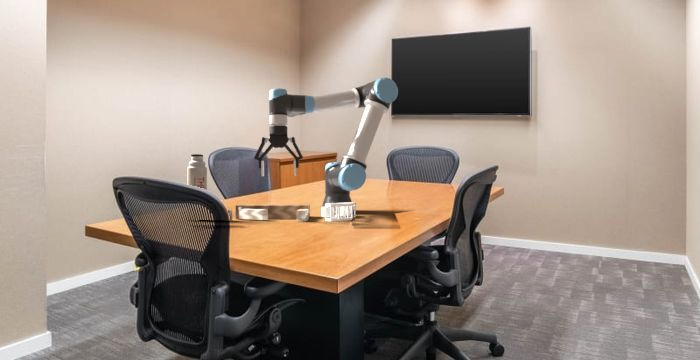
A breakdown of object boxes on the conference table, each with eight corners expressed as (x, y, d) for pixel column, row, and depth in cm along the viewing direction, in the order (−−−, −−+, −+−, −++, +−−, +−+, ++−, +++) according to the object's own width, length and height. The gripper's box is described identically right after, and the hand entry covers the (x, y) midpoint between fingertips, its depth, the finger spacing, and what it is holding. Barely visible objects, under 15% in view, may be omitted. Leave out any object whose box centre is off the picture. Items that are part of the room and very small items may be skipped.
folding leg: (267, 220, 217) (267, 207, 217) (262, 220, 214) (262, 208, 214) (242, 218, 224) (242, 206, 224) (236, 219, 221) (236, 207, 221)
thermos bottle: (207, 220, 214) (208, 154, 214) (187, 221, 211) (188, 153, 211) (205, 219, 222) (205, 154, 222) (186, 220, 219) (186, 154, 219)
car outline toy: (346, 218, 234) (346, 201, 234) (365, 219, 227) (365, 202, 227) (315, 220, 219) (315, 203, 219) (334, 221, 212) (334, 204, 212)
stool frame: (309, 218, 230) (309, 204, 230) (305, 221, 210) (305, 207, 210) (231, 218, 231) (231, 204, 231) (219, 221, 211) (219, 207, 211)
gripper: (308, 126, 220) (309, 175, 220) (250, 127, 220) (250, 176, 220) (307, 124, 212) (308, 175, 213) (247, 125, 212) (247, 176, 212)
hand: (279, 176), depth 216 cm, fingers open, 13 cm apart
